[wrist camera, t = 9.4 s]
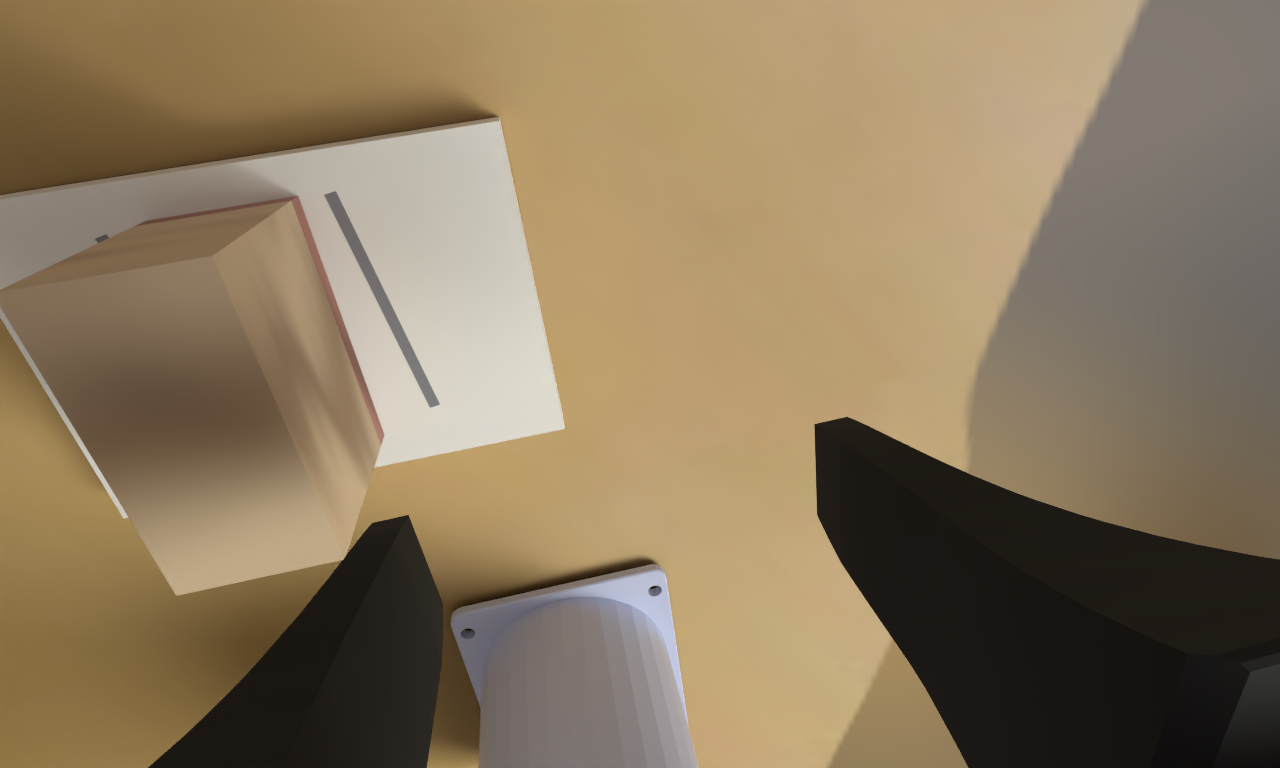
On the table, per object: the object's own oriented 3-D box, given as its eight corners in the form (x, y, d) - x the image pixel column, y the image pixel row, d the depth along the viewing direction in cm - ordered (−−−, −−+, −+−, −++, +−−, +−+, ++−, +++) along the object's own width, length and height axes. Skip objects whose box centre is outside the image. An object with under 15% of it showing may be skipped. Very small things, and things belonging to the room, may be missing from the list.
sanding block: (384, 434, 20) (345, 559, 15) (258, 459, 20) (176, 595, 15) (298, 195, 17) (212, 256, 12) (145, 220, 16) (-8, 293, 11)
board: (561, 410, 22) (564, 429, 21) (143, 494, 21) (123, 518, 20) (499, 116, 18) (498, 120, 17) (-29, 199, 17) (-67, 210, 15)
